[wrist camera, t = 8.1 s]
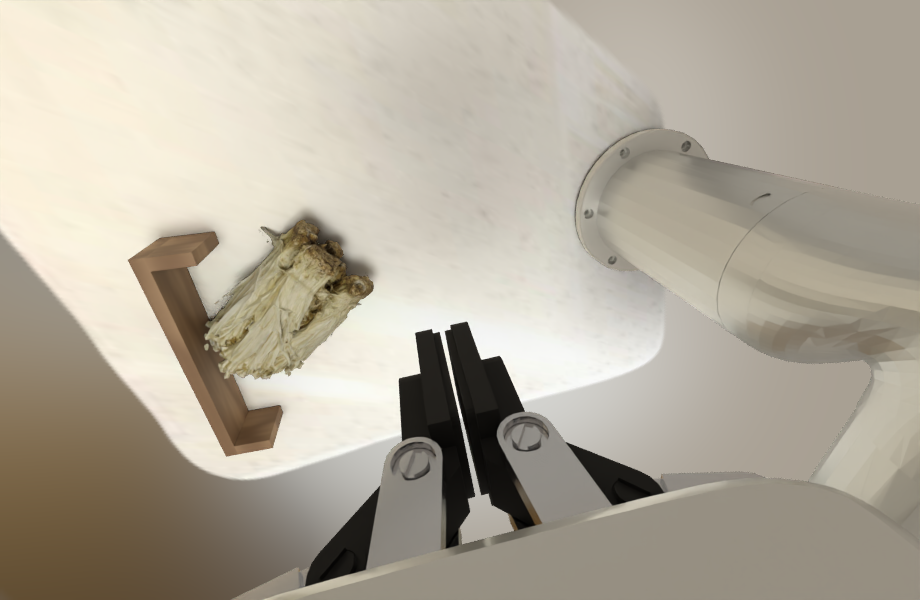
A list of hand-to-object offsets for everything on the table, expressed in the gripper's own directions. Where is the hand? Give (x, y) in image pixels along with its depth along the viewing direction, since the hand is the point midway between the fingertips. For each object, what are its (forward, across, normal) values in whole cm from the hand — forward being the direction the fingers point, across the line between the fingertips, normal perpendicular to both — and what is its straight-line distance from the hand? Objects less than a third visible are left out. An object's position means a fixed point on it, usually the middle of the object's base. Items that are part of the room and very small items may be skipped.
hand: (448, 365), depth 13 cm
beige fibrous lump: (+23, +11, +6) cm, 27 cm away
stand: (+23, +18, +9) cm, 30 cm away
